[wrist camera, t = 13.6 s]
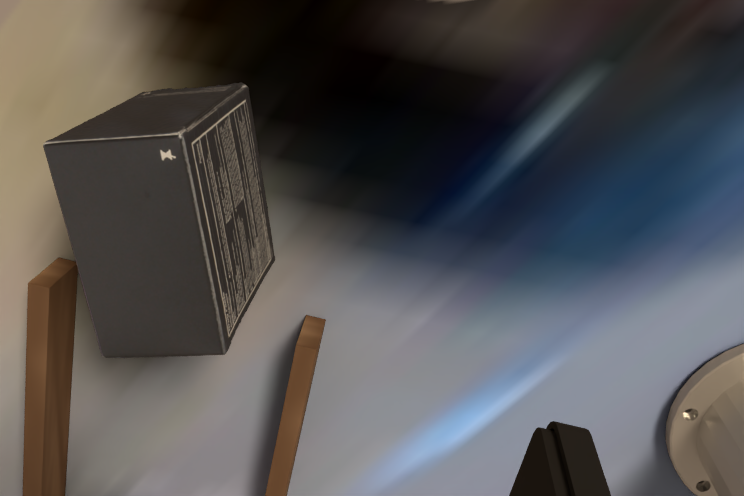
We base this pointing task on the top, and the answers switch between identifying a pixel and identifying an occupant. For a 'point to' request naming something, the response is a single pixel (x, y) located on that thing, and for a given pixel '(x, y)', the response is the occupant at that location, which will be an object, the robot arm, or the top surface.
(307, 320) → the wooden u-shaped frame
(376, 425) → the top surface
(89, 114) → the top surface
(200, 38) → the top surface
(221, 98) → the small box
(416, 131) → the top surface
